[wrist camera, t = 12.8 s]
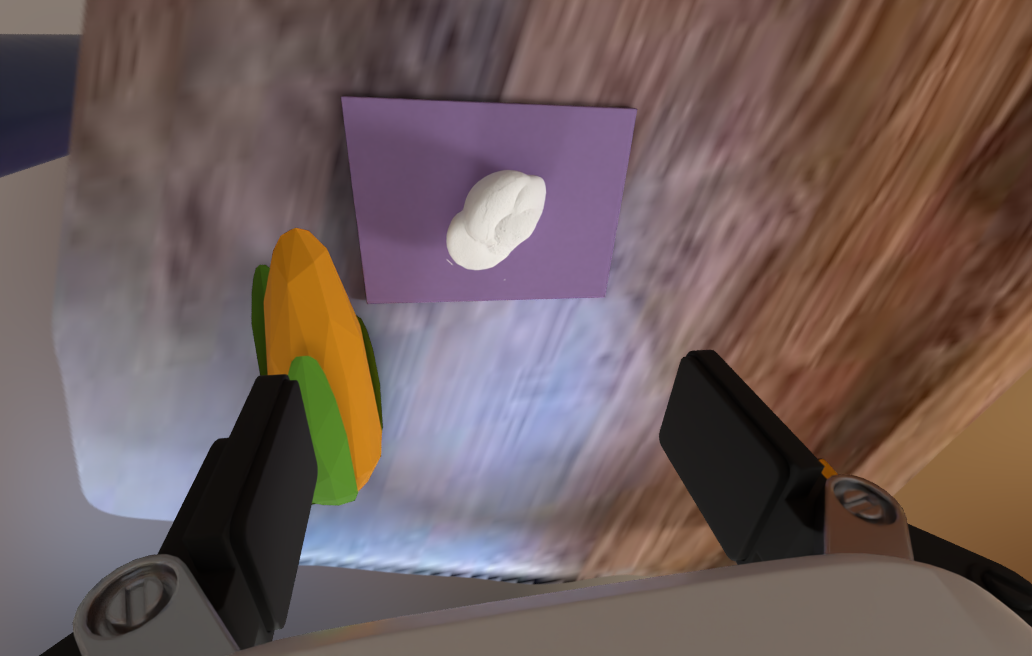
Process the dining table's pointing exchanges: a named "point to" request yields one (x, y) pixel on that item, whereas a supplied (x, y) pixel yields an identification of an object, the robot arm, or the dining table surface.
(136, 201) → the dining table surface
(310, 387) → the corn
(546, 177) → the cloth
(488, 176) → the dumpling
